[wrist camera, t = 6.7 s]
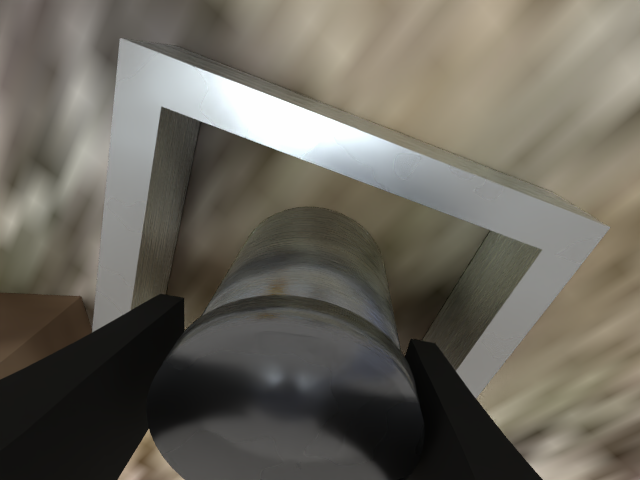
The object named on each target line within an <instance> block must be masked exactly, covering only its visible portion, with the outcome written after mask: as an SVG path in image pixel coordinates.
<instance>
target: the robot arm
mask: <svg viewBox="0 0 640 480" xmlns="http://www.w3.org/2000/svg"><path fill="white" fill-rule="evenodd" d="M183 333H184V298H181V297H175V296H170V295H164V294H159V295H157V296H155V297H153V298H151V299H150V300H148V301H146V302H144V303H143V304H141V305H139V306H137V307H136V308H134V309H132V310H131V311H129V312H127V313H125V314H124V315H122V316H120V317H118V318H117V319H115V320H113V321H111V322H110V323H108V324H106V325H104V326H103V327H101V328H99V329H97V330H95V331H94V332H92V333H90V334H88V335H87V336H85V337H83V338H81V339H79V340H78V341H76V342H74V343H72V344H70V345H68V346H66V347H64V348H62V349H60V350H58V351H56V352H54V353H53V354H51V355H49V356H47V357H45V358H43V359H41V360H39V361H37V362H35V363H33V364H31V365H29V366H27V367H25V368H23V369H21V370H19V371H17V372H15V373H13V374H11V375H9V376H7V377H5V378H2V379H0V480H117V479H118V478H119V476H120V475H121V473H122V471H123V470H124V468H125V466H126V465H127V463H128V462H129V460H130V458H131V457H132V455H133V453H134V452H135V450H136V448H137V447H138V445H139V444H140V442H141V440H142V439H143V437H144V435H145V434H146V432H147V430H148V429H149V426H148V422H147V412H146V406H147V396H148V393H149V389H150V386H151V383H152V381H153V379H154V377H155V375H156V373H157V372H158V370H159V368H160V367H161V365H162V364H163V362H164V361H165V359H166V357H167V356H168V354H169V353H170V351H171V350H172V348H173V346H174V345H175V343H176V342H177V340H178V339H179V338H180V336H181V335H182V334H183ZM405 359H406V360H407V362H408V364H409V366H410V369H411V371H412V374H413V376H414V380H415V385H416V389H417V394H418V398H419V403H420V407H421V412H422V416H423V421H424V429H425V440H424V445H423V451H422V454H421V456H420V459H419V462H418V464H417V466H416V467H415V469H414V471H413V472H412V474H411V475H410V476H409V477H408V479H407V480H542V478H541V477H540V476H539V475H538V474H537V473H536V472H535V471H534V469H533V468H532V467H531V466H530V465H529V464H528V462H527V461H526V460H525V459H524V458H523V457H522V455H521V454H520V453H519V452H518V451H517V449H516V448H515V447H514V446H513V445H512V444H511V442H510V441H509V440H508V439H507V438H506V436H505V435H504V434H503V433H502V431H501V430H500V429H499V428H498V426H497V425H496V424H495V423H494V421H493V420H492V419H491V418H490V416H489V415H488V414H487V412H486V411H485V410H484V409H483V407H482V406H481V405H480V403H479V402H478V401H477V399H476V398H475V397H474V395H473V394H472V393H471V391H470V390H469V389H468V387H467V386H466V385H465V383H464V382H463V380H462V379H461V378H460V376H459V375H458V374H457V372H456V371H455V369H454V368H453V367H452V365H451V364H450V363H449V361H448V360H447V358H446V357H445V356H444V354H443V353H442V351H441V350H440V349H439V347H438V346H437V345H436V343H431V342H426V341H420V340H415V339H411V340H410V343H409V346H408V349H407V352H406V355H405Z"/></svg>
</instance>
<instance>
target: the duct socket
mask: <svg viewBox="0 0 640 480" xmlns="http://www.w3.org/2000/svg"><path fill="white" fill-rule="evenodd" d="M200 122H204V123H207V124H209V125H212V126H215V127H217V128H220V129H223V130H225V131H228V132H231V133H233V134H236V135H239V136H241V137H244V138H247V139H249V140H252V141H255V142H257V143H260V144H263V145H265V146H268V147H271V148H273V149H276V150H278V151H281V152H284V153H286V154H289V155H292V156H294V157H297V158H300V159H302V160H305V161H308V162H310V163H313V164H316V165H318V166H321V167H324V168H326V169H329V170H332V171H334V172H337V173H340V174H342V175H345V176H348V177H350V178H353V179H356V180H358V181H361V182H364V183H366V184H369V185H371V186H374V187H377V188H379V189H382V190H385V191H387V192H390V193H393V194H395V195H398V196H401V197H403V198H406V199H409V200H411V201H414V202H417V203H419V204H422V205H425V206H427V207H430V208H433V209H435V210H438V211H441V212H443V213H446V214H449V215H451V216H454V217H457V218H459V219H462V220H464V221H467V222H470V223H472V224H475V225H478V226H480V227H483V228H486V229H488V230H491V231H490V232H489V234H488V236H487V237H486V239H485V240H484V242H483V244H482V245H481V247H480V248H479V250H478V252H477V253H476V255H475V256H474V258H473V260H472V261H471V263H470V264H469V266H468V268H467V269H466V271H465V272H464V274H463V276H462V277H461V279H460V280H459V282H458V284H457V285H456V287H455V288H454V290H453V292H452V293H451V295H450V296H449V298H448V300H447V301H446V303H445V304H444V306H443V308H442V309H441V311H440V312H439V314H438V316H437V317H436V319H435V320H434V322H433V324H432V325H431V327H430V328H429V330H428V332H427V333H426V335H425V336H424V338H423V340H422V341H426V342H431V343H436V345H437V346H438V347H439V349H440V350H441V351H442V353H443V354H444V356H445V357H446V358H447V360H448V361H449V363H450V364H451V365H452V367H453V368H454V369H455V371H456V372H457V374H458V375H459V376H460V378H461V379H462V380H463V382H464V383H465V385H466V386H467V387H468V389H469V390H470V391H471V393H472V394H473V395H474V397H475V398H477V397H478V396H479V394H480V393H481V392H482V390H483V389H484V388H485V387H486V385H487V384H488V383H489V382H490V380H491V379H492V378H493V376H494V375H495V374H496V373H497V371H498V370H499V369H500V368H501V366H502V365H503V364H504V362H505V361H506V360H507V359H508V357H509V356H510V355H511V354H512V352H513V351H514V350H515V348H516V347H517V346H518V345H519V343H520V342H521V341H522V340H523V338H524V337H525V336H526V334H527V333H528V332H529V331H530V329H531V328H532V327H533V326H534V324H535V323H536V322H537V320H538V319H539V318H540V317H541V315H542V314H543V313H544V311H545V310H546V309H547V308H548V306H549V305H550V304H551V303H552V301H553V300H554V299H555V297H556V296H557V295H558V294H559V292H560V291H561V290H562V289H563V287H564V286H565V285H566V283H567V282H568V281H569V280H570V278H571V277H572V276H573V275H574V273H575V272H576V271H577V269H578V268H579V267H580V266H581V264H582V263H583V262H584V261H585V259H586V258H587V257H588V255H589V254H590V253H591V252H592V250H593V249H594V248H595V247H596V245H597V244H598V243H599V241H600V240H601V239H602V238H603V236H604V235H605V234H606V232H607V231H608V230H609V229H610V227H609V226H608V225H606V224H604V223H603V222H601V221H599V220H598V219H596V218H595V217H593V216H591V215H590V214H588V213H586V212H585V211H583V210H581V209H580V208H578V207H577V206H575V205H573V204H572V203H570V202H568V201H567V200H565V199H563V198H562V197H560V196H559V195H557V194H555V193H553V192H551V191H548V190H546V189H543V188H541V187H538V186H535V185H533V184H530V183H528V182H525V181H523V180H520V179H517V178H515V177H512V176H510V175H507V174H505V173H502V172H499V171H497V170H494V169H492V168H489V167H487V166H484V165H481V164H479V163H476V162H474V161H471V160H469V159H466V158H463V157H461V156H458V155H456V154H453V153H451V152H448V151H445V150H443V149H440V148H438V147H435V146H433V145H430V144H427V143H425V142H422V141H420V140H417V139H415V138H412V137H409V136H407V135H404V134H402V133H399V132H397V131H394V130H391V129H389V128H386V127H384V126H381V125H379V124H376V123H374V122H371V121H368V120H366V119H363V118H361V117H358V116H356V115H353V114H350V113H348V112H345V111H343V110H340V109H338V108H335V107H332V106H330V105H327V104H325V103H322V102H320V101H317V100H314V99H312V98H309V97H307V96H304V95H302V94H299V93H296V92H294V91H291V90H289V89H286V88H284V87H281V86H278V85H276V84H273V83H271V82H268V81H266V80H263V79H260V78H258V77H255V76H253V75H250V74H248V73H245V72H242V71H240V70H237V69H235V68H232V67H230V66H227V65H224V64H222V63H219V62H217V61H214V60H212V59H209V58H206V57H204V56H201V55H199V54H196V53H194V52H191V51H188V50H186V49H183V48H181V47H178V46H175V45H168V44H161V43H154V42H147V41H139V40H132V39H125V38H120V44H119V55H118V65H117V76H116V86H115V97H114V107H113V117H112V128H111V138H110V149H109V159H108V170H107V180H106V191H105V201H104V212H103V222H102V232H101V243H100V253H99V264H98V274H97V285H96V295H95V306H94V316H93V327H92V332H94V331H95V330H97V329H99V328H101V327H103V326H104V325H106V324H108V323H110V322H111V321H113V320H115V319H117V318H118V317H120V316H122V315H124V314H125V313H127V312H129V311H131V310H132V309H134V308H136V307H137V306H139V305H141V304H143V303H144V302H146V301H148V300H150V299H151V298H153V297H155V296H157V295H159V294H164V295H166V291H167V286H168V281H169V276H170V271H171V266H172V261H173V256H174V251H175V246H176V241H177V236H178V231H179V226H180V221H181V216H182V211H183V206H184V201H185V196H186V191H187V186H188V181H189V177H190V172H191V167H192V162H193V157H194V152H195V147H196V142H197V137H198V132H199V127H200Z"/></svg>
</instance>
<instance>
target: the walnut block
mask: <svg viewBox="0 0 640 480" xmlns="http://www.w3.org/2000/svg"><path fill="white" fill-rule="evenodd" d="M90 333H92V328H91V325H90V322H89V319H88V316H87V313H86V310H85V307H84V304H83V301H82V298H81V296H60V295H38V294H16V293H0V379H2V378H5V377H7V376H9V375H11V374H13V373H15V372H17V371H19V370H21V369H23V368H25V367H27V366H29V365H31V364H33V363H35V362H37V361H39V360H41V359H43V358H45V357H47V356H49V355H51V354H53V353H54V352H56V351H58V350H60V349H62V348H64V347H66V346H68V345H70V344H72V343H74V342H76V341H78V340H79V339H81V338H83V337H85V336H87V335H88V334H90Z"/></svg>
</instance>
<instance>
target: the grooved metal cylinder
mask: <svg viewBox="0 0 640 480" xmlns="http://www.w3.org/2000/svg"><path fill="white" fill-rule="evenodd" d="M146 412H147V422H148V426H149V429H150V433H151V436H152V438H153V440H154V442H155V444H156V446H157V448H158V450H159V451H160V453H161V454H162V456H163V457H164V459H165V460H166V461H167V462H168V463H169V465H170V466H171V467H172V468H173V469H174V470H175V471H176V472H177V473H178V474H179V475H180V476H181V477H182V478H184V479H185V480H407V479H408V477H409V476H410V475H411V474H412V472H413V471H414V469H415V467H416V466H417V464H418V462H419V459H420V456H421V454H422V451H423V445H424V440H425V429H424V421H423V416H422V412H421V407H420V403H419V398H418V394H417V389H416V385H415V380H414V376H413V374H412V371H411V369H410V366H409V364H408V362H407V360H406V359H405V357H404V355H403V354H402V352H401V349H400V344H399V339H398V334H397V328H396V323H395V318H394V313H393V308H392V303H391V298H390V293H389V288H388V283H387V278H386V272H385V267H384V263H383V258H382V255H381V253H380V250H379V248H378V246H377V244H376V242H375V241H374V239H373V238H372V237H371V235H370V234H369V233H368V232H367V231H366V230H365V229H364V228H363V227H362V226H361V225H359V224H358V223H357V222H355V221H354V220H352V219H351V218H349V217H347V216H345V215H343V214H341V213H338V212H336V211H333V210H329V209H325V208H319V207H298V208H292V209H288V210H284V211H282V212H279V213H276V214H275V215H273V216H271V217H269V218H267V219H266V220H265V221H263V222H262V223H261V224H260V225H259V226H258V227H257V228H256V229H255V230H254V231H253V232H252V233H251V235H250V236H249V238H248V239H247V241H246V243H245V244H244V246H243V248H242V249H241V251H240V253H239V254H238V256H237V258H236V259H235V261H234V263H233V264H232V266H231V268H230V269H229V271H228V273H227V274H226V276H225V278H224V279H223V281H222V283H221V284H220V286H219V288H218V289H217V291H216V292H215V294H214V296H213V297H212V299H211V301H210V302H209V304H208V306H207V307H206V309H205V311H204V312H203V314H202V316H201V317H200V318H199V319H197V320H196V321H195V322H194V323H193V324H191V325H190V326H189V327H188V328H187V329H186V330H185V331H184V333H183V334H182V335H181V336H180V338H179V339H178V340H177V342H176V343H175V345H174V346H173V348H172V350H171V351H170V353H169V354H168V356H167V357H166V359H165V361H164V362H163V364H162V365H161V367H160V368H159V370H158V372H157V373H156V375H155V377H154V379H153V381H152V383H151V386H150V389H149V393H148V396H147V406H146Z"/></svg>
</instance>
